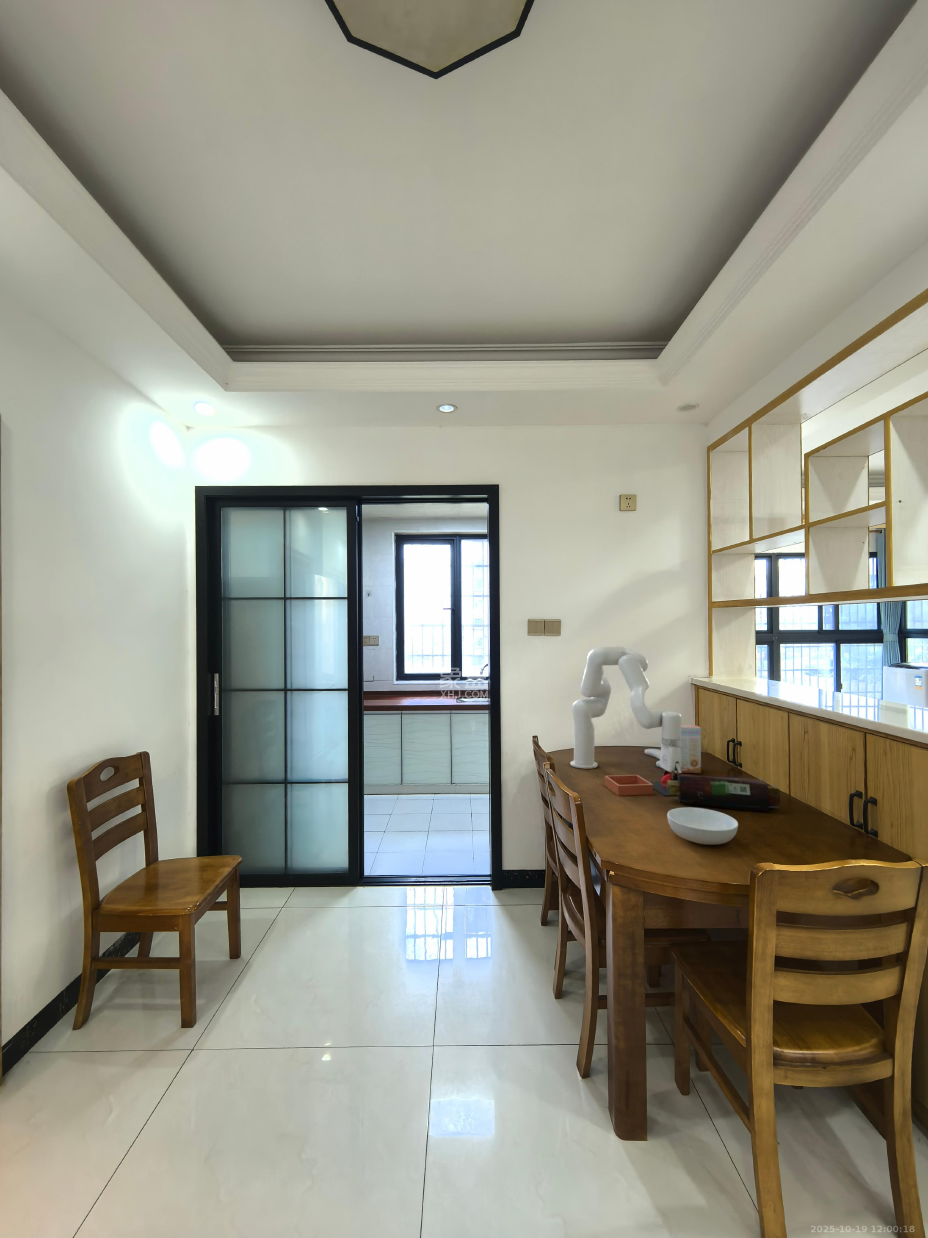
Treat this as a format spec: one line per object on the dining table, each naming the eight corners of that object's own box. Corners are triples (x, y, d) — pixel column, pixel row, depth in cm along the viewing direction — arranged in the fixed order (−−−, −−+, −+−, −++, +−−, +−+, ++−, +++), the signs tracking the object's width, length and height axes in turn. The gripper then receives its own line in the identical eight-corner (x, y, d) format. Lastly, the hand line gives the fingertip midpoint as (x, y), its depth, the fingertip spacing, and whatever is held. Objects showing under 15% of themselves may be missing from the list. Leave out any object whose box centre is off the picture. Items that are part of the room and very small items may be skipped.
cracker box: (697, 770, 272) (697, 725, 272) (701, 774, 266) (701, 727, 266) (665, 769, 273) (666, 724, 273) (669, 772, 267) (669, 726, 267)
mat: (645, 783, 250) (645, 782, 250) (676, 782, 252) (676, 781, 252) (665, 796, 232) (665, 795, 232) (698, 795, 234) (698, 794, 234)
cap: (663, 790, 239) (663, 775, 239) (659, 786, 245) (659, 771, 245) (683, 790, 239) (683, 775, 239) (678, 786, 245) (678, 771, 245)
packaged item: (668, 804, 222) (668, 778, 221) (665, 797, 231) (666, 771, 231) (782, 814, 212) (783, 786, 212) (775, 805, 222) (775, 779, 222)
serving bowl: (702, 857, 174) (702, 833, 174) (653, 832, 193) (653, 811, 193) (753, 846, 182) (753, 824, 182) (701, 824, 201) (701, 804, 201)
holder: (658, 769, 274) (659, 758, 274) (642, 752, 308) (643, 742, 308) (701, 770, 272) (701, 759, 272) (680, 753, 306) (680, 743, 306)
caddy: (604, 785, 247) (604, 775, 247) (637, 784, 249) (637, 774, 249) (618, 795, 232) (618, 785, 232) (653, 794, 234) (653, 784, 234)
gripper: (653, 738, 250) (652, 780, 250) (673, 747, 233) (672, 793, 233) (669, 738, 251) (669, 780, 251) (690, 747, 234) (690, 792, 234)
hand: (670, 786), depth 242 cm, fingers closed on cap, 5 cm apart
